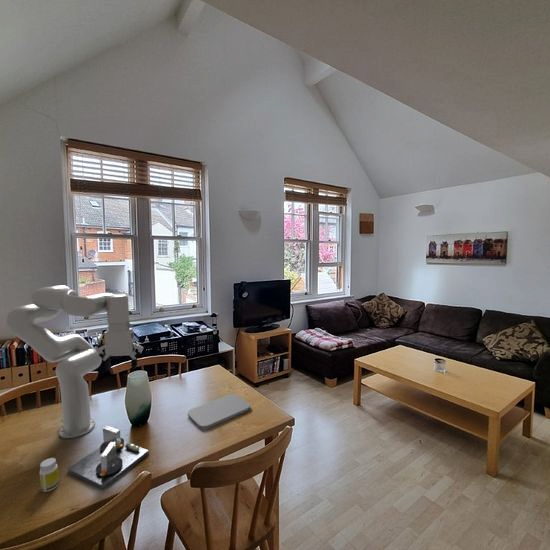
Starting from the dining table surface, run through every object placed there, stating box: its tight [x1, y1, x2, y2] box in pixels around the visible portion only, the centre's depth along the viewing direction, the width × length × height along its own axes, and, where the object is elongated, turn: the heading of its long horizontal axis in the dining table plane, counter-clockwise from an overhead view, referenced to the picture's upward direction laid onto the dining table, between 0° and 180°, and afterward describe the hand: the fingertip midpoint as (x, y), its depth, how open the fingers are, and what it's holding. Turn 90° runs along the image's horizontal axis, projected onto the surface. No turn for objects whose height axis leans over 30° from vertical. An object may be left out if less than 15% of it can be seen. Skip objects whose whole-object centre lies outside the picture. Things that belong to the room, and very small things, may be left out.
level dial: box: [96, 442, 123, 477], centre depth 102 cm, size 9×8×7 cm
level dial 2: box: [99, 425, 125, 453], centre depth 113 cm, size 9×8×7 cm
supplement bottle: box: [38, 457, 60, 493], centre depth 97 cm, size 5×5×8 cm
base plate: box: [67, 440, 149, 491], centre depth 107 cm, size 18×18×3 cm
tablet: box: [187, 393, 251, 430], centre depth 140 cm, size 16×26×2 cm, turn 131°
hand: (121, 368), depth 120 cm, fingers open, 9 cm apart
